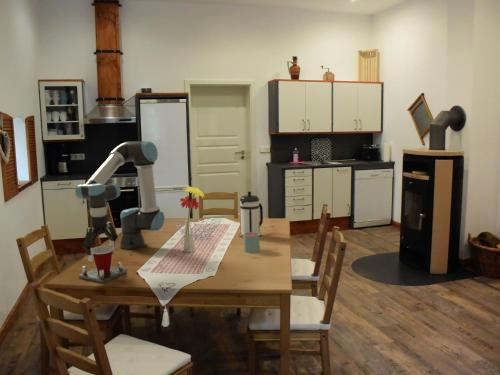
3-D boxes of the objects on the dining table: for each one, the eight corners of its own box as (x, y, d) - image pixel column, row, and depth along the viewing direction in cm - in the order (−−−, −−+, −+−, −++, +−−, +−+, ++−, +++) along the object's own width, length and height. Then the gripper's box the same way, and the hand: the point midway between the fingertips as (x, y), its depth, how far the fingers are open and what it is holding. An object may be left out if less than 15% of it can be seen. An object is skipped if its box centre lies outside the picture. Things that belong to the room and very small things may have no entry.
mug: (258, 253, 242) (257, 236, 240) (242, 252, 244) (241, 235, 242) (262, 246, 255) (261, 230, 253) (247, 245, 257) (246, 229, 255)
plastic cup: (91, 276, 205) (89, 252, 203) (93, 269, 215) (91, 246, 213) (115, 274, 208) (113, 250, 206) (115, 267, 218) (113, 244, 216)
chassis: (104, 267, 222) (103, 257, 221) (126, 272, 214) (126, 262, 213) (79, 277, 208) (78, 267, 207) (102, 283, 200) (101, 272, 199)
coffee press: (263, 239, 270) (262, 193, 266) (238, 239, 270) (237, 193, 266) (263, 232, 287) (262, 188, 283) (239, 232, 288) (238, 189, 283)
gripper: (112, 209, 219) (115, 249, 222) (72, 220, 197) (75, 263, 201) (123, 211, 215) (126, 251, 219) (83, 221, 194) (86, 265, 197)
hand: (102, 257), depth 210 cm, fingers open, 13 cm apart
